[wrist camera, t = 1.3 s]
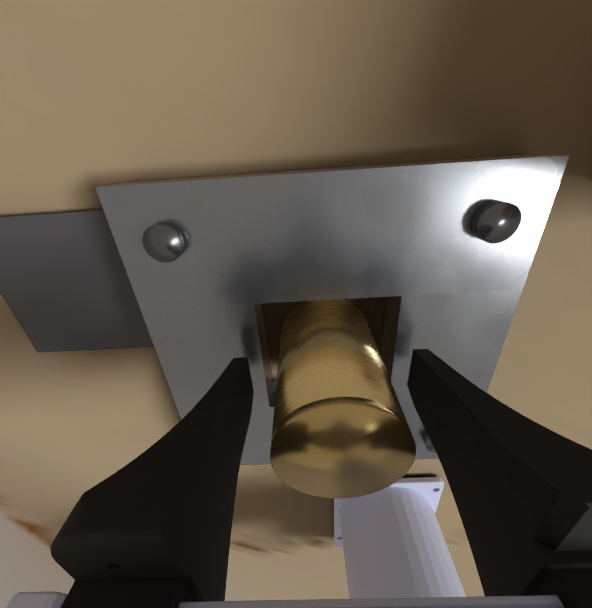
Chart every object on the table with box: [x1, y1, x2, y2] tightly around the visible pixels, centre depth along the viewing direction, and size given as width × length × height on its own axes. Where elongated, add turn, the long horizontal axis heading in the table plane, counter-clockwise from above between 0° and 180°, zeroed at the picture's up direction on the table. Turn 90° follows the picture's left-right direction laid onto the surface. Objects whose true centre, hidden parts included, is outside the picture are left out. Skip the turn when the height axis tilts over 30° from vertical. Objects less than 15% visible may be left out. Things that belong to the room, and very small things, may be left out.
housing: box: [95, 154, 570, 465], centre depth 14 cm, size 16×16×2 cm
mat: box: [0, 209, 154, 352], centre depth 14 cm, size 7×7×1 cm
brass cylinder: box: [270, 299, 416, 499], centre depth 12 cm, size 5×5×7 cm
